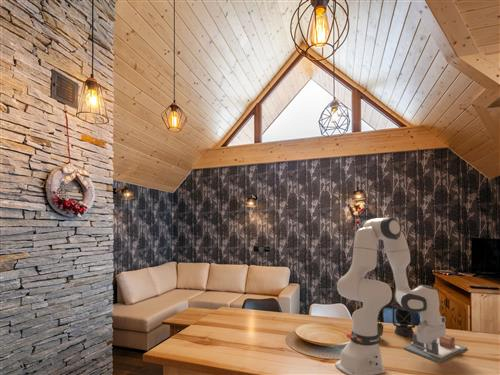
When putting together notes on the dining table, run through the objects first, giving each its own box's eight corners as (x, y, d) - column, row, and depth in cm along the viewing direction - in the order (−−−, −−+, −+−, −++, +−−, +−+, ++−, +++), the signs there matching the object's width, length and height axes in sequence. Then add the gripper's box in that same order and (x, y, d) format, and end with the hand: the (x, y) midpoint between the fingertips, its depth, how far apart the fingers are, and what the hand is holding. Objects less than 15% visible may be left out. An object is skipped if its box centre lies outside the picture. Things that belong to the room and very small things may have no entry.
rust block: (450, 349, 146) (449, 338, 146) (439, 345, 150) (439, 335, 150) (455, 347, 148) (454, 336, 149) (444, 343, 152) (443, 333, 153)
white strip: (440, 358, 138) (439, 345, 139) (423, 351, 145) (422, 339, 145) (461, 348, 148) (460, 336, 149) (444, 343, 155) (443, 331, 156)
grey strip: (426, 349, 147) (425, 338, 147) (410, 344, 154) (409, 332, 154) (446, 341, 157) (445, 330, 158) (430, 336, 164) (430, 325, 164)
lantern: (393, 335, 168) (390, 282, 171) (391, 329, 178) (389, 279, 181) (418, 338, 164) (414, 284, 167) (414, 331, 174) (411, 280, 177)
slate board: (438, 362, 136) (438, 360, 136) (404, 349, 150) (403, 347, 151) (467, 349, 150) (467, 347, 150) (432, 337, 165) (432, 336, 165)
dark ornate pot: (385, 341, 160) (384, 326, 161) (371, 340, 161) (370, 325, 162) (382, 336, 167) (381, 322, 168) (368, 335, 169) (368, 321, 169)
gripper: (425, 325, 136) (427, 356, 134) (447, 317, 146) (449, 346, 144) (412, 321, 141) (413, 350, 139) (434, 314, 151) (436, 341, 150)
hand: (432, 348), depth 142 cm, fingers closed on white strip, 2 cm apart
